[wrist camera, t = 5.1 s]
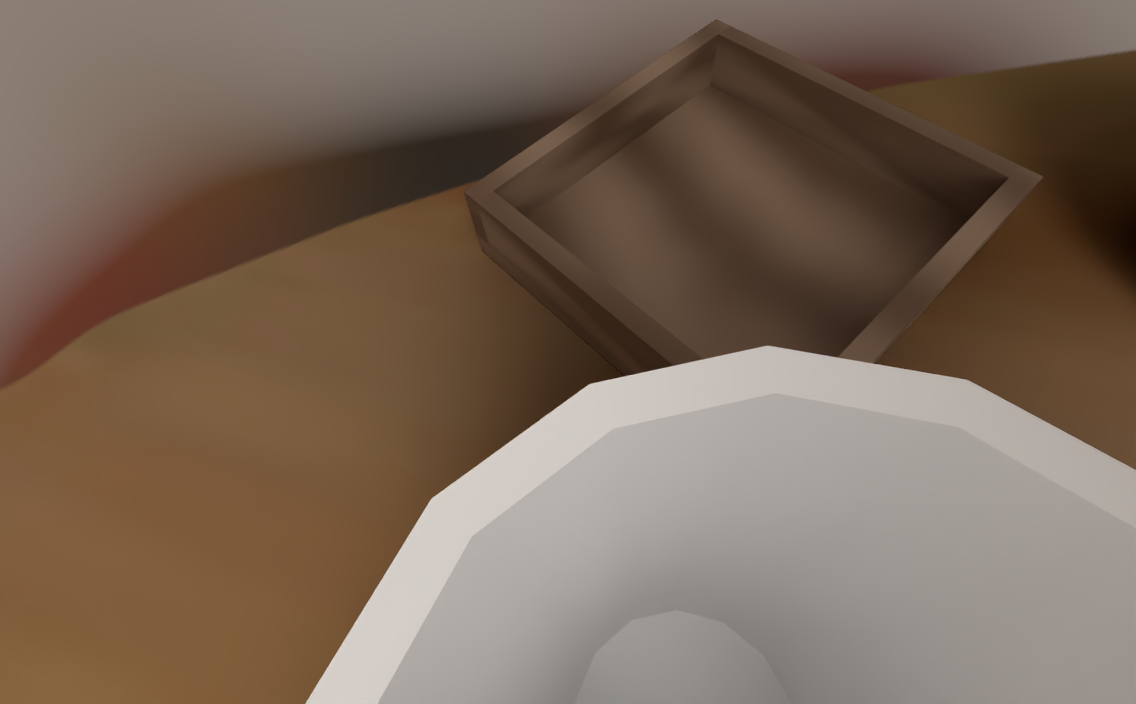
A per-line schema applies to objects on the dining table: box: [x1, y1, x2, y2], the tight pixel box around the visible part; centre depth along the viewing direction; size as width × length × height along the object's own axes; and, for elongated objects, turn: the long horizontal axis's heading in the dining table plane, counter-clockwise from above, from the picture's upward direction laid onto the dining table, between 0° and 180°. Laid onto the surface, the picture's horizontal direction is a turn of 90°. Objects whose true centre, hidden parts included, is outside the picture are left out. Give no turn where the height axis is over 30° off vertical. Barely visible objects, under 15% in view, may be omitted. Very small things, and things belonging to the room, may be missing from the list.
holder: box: [464, 19, 1043, 376], centre depth 22 cm, size 15×15×4 cm
